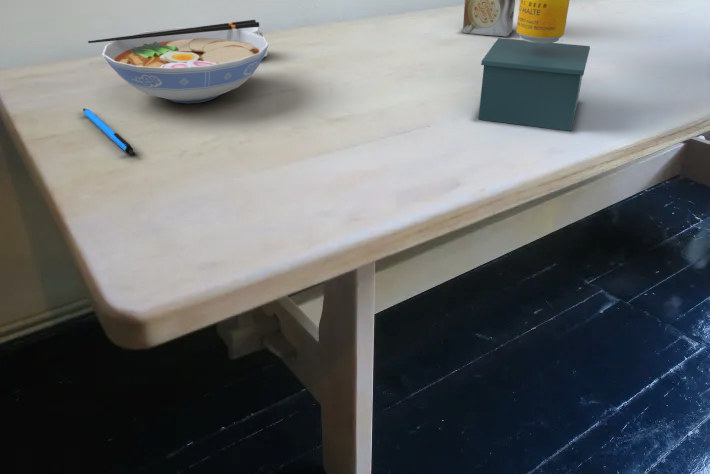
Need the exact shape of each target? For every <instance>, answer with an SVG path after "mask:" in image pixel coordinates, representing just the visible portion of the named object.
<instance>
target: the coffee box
mask: <svg viewBox="0 0 710 474" xmlns="http://www.w3.org/2000/svg"><path fill="white" fill-rule="evenodd" d="M515 6H516V0H464V6H463V20H462V21H463V22H462V33H463V34H472V35H473V34H474V35H482V36H483V35H484V36H496V37H507V38H508V37H509V36H510V34H511V33H512V32H513V31H514V30H513V28H514V25H513V24H514V16H515Z"/></svg>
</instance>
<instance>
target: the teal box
mask: <svg viewBox="0 0 710 474" xmlns="http://www.w3.org/2000/svg"><path fill="white" fill-rule="evenodd" d="M590 49H591V46H590V45H583V44H570V43H559V42H554V43H533V42H528V41H524V40H522V39H516V38H515V39H513V38H502V37H498V38H497V39H496V41H495V42H494V43H493V45H492V46H491V47H490V49H489V50H488V51H487V53H486V54H485V55H484V57H483V58H482V60H481V62H480V65H481V66H483V71H482V80H481V89H480V100H479V109H478V120H481V121H487V122H496V123H503V124H511V125H520V126H528V127H536V128H544V129H551V130H559V131H566V132H567V131H568V132H571V131H572V128H573V123H574V119H575V116H576V111H577V107H578V104H579V97H580V91H581V88H582V87H581V86H582V82H583V76H584V75H585V71H586V65H587V63H588V57H589V53H590Z"/></svg>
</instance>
